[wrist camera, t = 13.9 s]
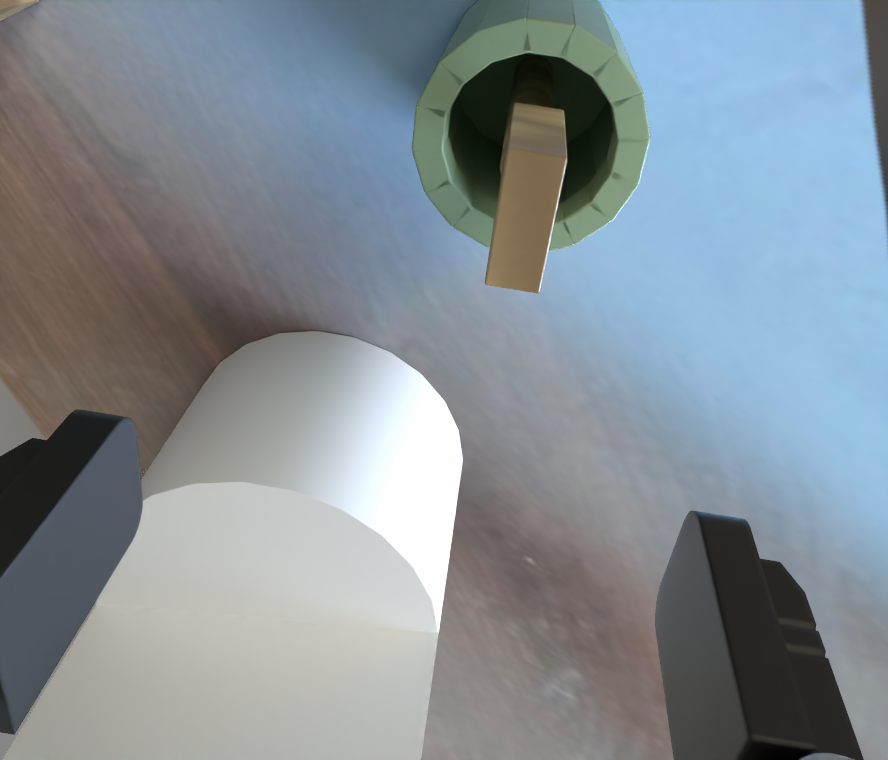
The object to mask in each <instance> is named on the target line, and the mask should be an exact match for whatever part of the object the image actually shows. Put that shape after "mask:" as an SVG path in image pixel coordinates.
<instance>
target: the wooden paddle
mask: <svg viewBox="0 0 888 760" xmlns="http://www.w3.org/2000/svg"><path fill="white" fill-rule="evenodd" d="M566 164H567V146H566V132H565V117H564V111H563V110H561V109H554V91H553V70H552V67H551V64H550V63H549V62H548V60H547V59H545V58H544V57H542V56H539V55H529V56H526V57H524V58H523V59H522V60H521V61H520V62H519V63H518V64H517V66H516V68H515V72H514V79H513V85H512V91H511V98H510V104H509V111H508V117H507V124H506V130H505V137H504V143H503V150H502V156H501V162H500V172H501V181H500V187H499V193H498V199H497V205H496V211H495V217H494V223H493V230H492V237H491V244H490V250H489V257H488V264H487V271H486V277H485V284H486V285H489V286H495V287H502V288H508V289H514V290H520V291H527V292H533V293H539V292H540V289H541V284H542V279H543V274H544V269H545V265H546V260H547V255H548V250H549V246H550V241H551V236H552V231H553V226H554V222H555V217H556V212H557V207H558V203H559V198H560V193H561V188H562V183H563V179H564V174H565V169H566Z"/></svg>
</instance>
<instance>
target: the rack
mask: <svg viewBox="0 0 888 760" xmlns="http://www.w3.org/2000/svg"><path fill="white" fill-rule="evenodd" d="M38 1H40V0H0V21H2V20H4V19H6V18H8V17H10V16H12V15H13V14H15V13H17V12H19V11H21V10H23V9H25V8H27V7H29V6H31V5H32V4H34V3H36V2H38Z"/></svg>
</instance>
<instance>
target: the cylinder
mask: <svg viewBox="0 0 888 760" xmlns="http://www.w3.org/2000/svg"><path fill="white" fill-rule="evenodd" d="M462 461H463V458H462V451H461V444H460V437H459V430H458V428H457V426H456V424H455V422H454V420H453V418H452V416H451V413H450V411H449V409H448V407H447V405H446V403H445V401H444V400H443V399H442V397H441V396H440V395H439V394H438V393H437V392H436V390H435V389H434V388H433V387H432V386H431V385H430V383H429V382H428V381H427V380H426V379H425V378H424V377H423V375H422V374H421V373H419V372H418V371H416V370H415V369H413V368H412V367H411V366H409V365H408V364H406V363H405V362H404V361H402V360H401V359H399V358H398V357H397V356H395V355H394V354H392V353H391V352H389V351H386V350H384V349H381V348H379V347H377V346H374V345H372V344H369V343H367V342H364V341H362V340H360V339H357V338H355V337H349V336H343V335H337V334H332V333H326V332H320V331H307V332H291V333H278V334H275V335H272V336H269V337H266V338H263V339H260V340H257V341H254V342H251V343H248V344H246V345H244V346H243V347H241V348H240V349H238V350H237V351H236V352H234V353H233V354H231V355H230V356H228V357H227V358H226V359H224V360H223V361H221V362H220V363H219V364H218V366H217V367H216V368H215V370H214V371H213V372H212V374H211V375H210V376H209V378H208V379H207V381H206V382H205V383H204V385H203V386H202V387H201V389H200V390H199V392H198V394H197V395H196V397H195V398H194V400H193V401H192V403H191V404H190V406H189V407H188V409H187V410H186V412H185V413H184V415H183V416H182V418H181V419H180V421H179V422H178V424H177V426H176V427H175V429H174V430H173V432H172V433H171V435H170V436H169V438H168V439H167V441H166V442H165V444H164V445H163V447H162V448H161V450H160V451H159V453H158V455H157V456H156V458H155V459H154V461H153V462H152V464H151V465H150V467H149V468H148V470H147V471H146V473H145V474H144V476H143V477H142V479H141V485H142V495H143V507H142V514H141V519H140V523H139V527H138V530H137V532H136V535H135V537H134V539H133V541H132V543H131V544H130V546H129V548H128V549H127V551H126V553H125V554H124V556H123V557H122V559H121V561H120V562H119V564H118V566H117V567H116V569H115V571H114V572H113V574H112V576H111V577H110V579H109V580H108V582H107V584H106V585H105V587H104V589H103V590H102V592H101V594H100V595H99V597H98V598H97V600H96V603H97V605H96V606H95V608H94V609H93V611H92V613H91V615H90V616H89V618H88V619H87V621H86V623H85V624H84V626H83V628H82V629H81V631H80V633H79V634H78V636H77V638H76V639H75V641H74V643H73V644H72V646H71V647H70V649H69V651H68V653H67V654H66V656H65V658H64V659H63V661H62V663H61V664H60V666H59V667H58V669H57V671H56V672H55V674H54V676H53V677H52V679H51V681H50V682H49V684H48V686H47V687H46V689H45V691H44V692H43V694H42V695H41V697H40V699H39V700H38V702H37V704H36V705H35V707H34V709H33V711H32V712H31V714H30V715H29V717H28V719H27V720H26V722H25V724H24V725H23V727H22V728H21V730H20V732H19V733H18V735H17V737H16V738H15V740H14V742H13V743H12V745H11V747H10V748H9V750H8V752H7V753H6V755H5V757H4V758H3V760H421V755H422V748H423V741H424V733H425V726H426V719H427V712H428V705H429V698H430V690H431V683H432V676H433V669H434V662H435V655H436V647H437V640H438V633H439V626H440V619H441V612H442V604H443V597H444V590H445V583H446V576H447V569H448V561H449V554H450V547H451V540H452V533H453V525H454V518H455V511H456V504H457V497H458V490H459V482H460V475H461V468H462Z"/></svg>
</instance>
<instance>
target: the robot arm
mask: <svg viewBox="0 0 888 760" xmlns="http://www.w3.org/2000/svg"><path fill="white" fill-rule="evenodd" d="M142 507H143V495H142V485H141V475H140V465H139V455H138V445H137V436H136V428H135V424H134V422H133V420H132V419H131V418H129V417H123V416H117V415H111V414H105V413H98V412H92V411H86V410H75V411H73V412H72V413H71V414H70V415H69V416H68V417H67V418H66V419H65V420H64V421H63V422H62V424H61V425H60V426H59V427H58V428H57V429H56V431H55V432H54V433H53V434H52V435H51V436H50V437H49V439H48V440H42V439H36V438H32V439H30V440H28V441H26V442H25V443H23V444H21V445H19V446H18V447H16V448H14V449H12V450H11V451H9V452H7V453H5V454H4V455H2V456H0V732H2V733H8V734H15V733H16V731H17V730H18V728H19V726H20V725H21V723H22V721H23V720H24V718H25V716H26V715H27V713H28V712H29V710H30V708H31V707H32V705H33V703H34V702H35V700H36V698H37V697H38V695H39V694H40V692H41V690H42V689H43V687H44V685H45V684H46V682H47V680H48V679H49V677H50V675H51V674H52V672H53V670H54V669H55V667H56V666H57V664H58V662H59V661H60V659H61V657H62V656H63V654H64V653H65V651H66V649H67V648H68V646H69V644H70V643H71V641H72V639H73V638H74V636H75V635H76V633H77V631H78V629H79V628H80V626H81V625H82V623H83V621H84V620H85V618H86V616H87V615H88V613H89V612H90V610H91V608H92V607H93V605H94V603H95V602H96V600H97V598H98V597H99V595H100V594H101V592H102V590H103V589H104V587H105V585H106V584H107V582H108V580H109V579H110V577H111V576H112V574H113V572H114V571H115V569H116V567H117V566H118V564H119V562H120V561H121V559H122V557H123V556H124V554H125V553H126V551H127V549H128V548H129V546H130V544H131V543H132V541H133V539H134V537H135V535H136V532H137V530H138V527H139V523H140V519H141V514H142ZM655 628H656V636H657V643H658V650H659V657H660V664H661V671H662V678H663V686H664V693H665V700H666V707H667V714H668V721H669V728H670V735H671V742H672V750H673V757H674V760H864V759H863V756H862V754H861V751H860V748H859V745H858V742H857V739H856V737H855V734H854V731H853V728H852V725H851V722H850V719H849V717H848V714H847V711H846V708H845V705H844V702H843V700H842V697H841V694H840V691H839V688H838V685H837V682H836V680H835V677H834V674H833V671H832V668H831V665H830V663H829V660H828V659H827V658H825V652H826V651H825V648H824V646H823V643H822V640H821V637H820V634H819V631H816V623H815V620H814V617H813V614H812V611H811V609H810V606H809V603H808V600H807V597H806V594H805V592H804V591H803V590H802V588H801V587H800V586H799V585H798V584H797V582H796V581H795V580H794V579H793V577H792V576H791V575H790V574H789V572H788V571H787V570H786V569H785V568H784V566H783V565H782V564H781V563H780V562H777V561H771V560H765V559H760V558H759V555H758V552H757V548H756V545H755V542H754V538H753V535H752V532H751V529H750V526H749V524H748V522H747V521H746V520H745V519H741V518H735V517H729V516H722V515H716V514H710V513H704V512H698V511H690V512H689V513H688V515H687V516H686V518H685V520H684V522H683V525H682V528H681V530H680V533H679V536H678V538H677V541H676V544H675V547H674V549H673V552H672V555H671V557H670V560H669V563H668V565H667V568H666V571H665V573H664V576H663V579H662V581H661V584H660V587H659V591H658V596H657V602H656V612H655Z"/></svg>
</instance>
